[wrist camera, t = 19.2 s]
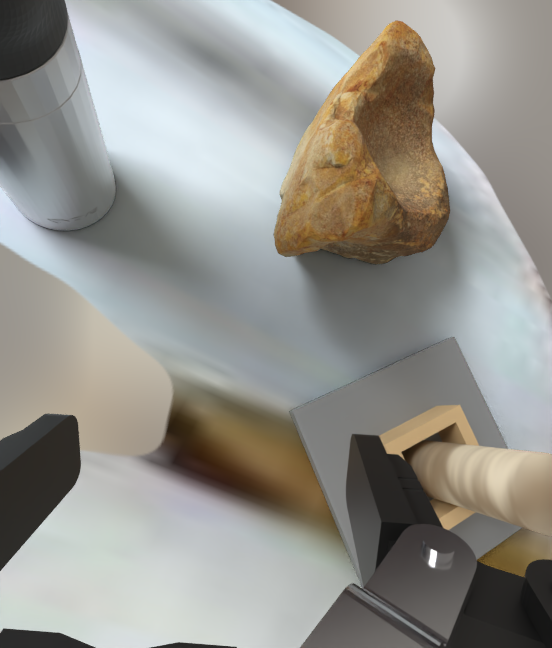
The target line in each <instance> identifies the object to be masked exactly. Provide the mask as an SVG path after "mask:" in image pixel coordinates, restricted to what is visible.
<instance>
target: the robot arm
mask: <svg viewBox="0 0 552 648" xmlns="http://www.w3.org/2000/svg"><path fill="white" fill-rule="evenodd" d="M0 187H1V188H2V190H3V191H4V192H5V193H6V195H7V196H8V197H9V198H10V200H11V201H12V202H13V203H14V205H15V206H16V207H17V208H18V210H19V211H20V212H21V213H22V214H23V215H24V216H25V217H26V218H28V219H29V220H31V221H32V222H34V223H35V224H38V225H40V226H43V227H45V228H49V229H54V230H65V231H70V230H76V229H81V228H84V227H87V226H90V225H92V224H93V223H95V222H97V221H98V220H100V219H101V218H102V217H103V216H104V215H105V214H106V213H107V212H108V210H109V209H110V208H111V206H112V204H113V201H114V199H115V194H116V184H115V178H114V174H113V171H112V167H111V164H110V160H109V157H108V153H107V149H106V145H105V142H104V138H103V135H102V131H101V128H100V124H99V121H98V117H97V114H96V110H95V107H94V103H93V100H92V96H91V93H90V89H89V85H88V82H87V78H86V75H85V71H84V68H83V64H82V61H81V57H80V54H79V50H78V48H77V44H76V41H75V37H74V33H73V30H72V26H71V23H70V19H69V16H68V12H67V8H66V4H65V1H64V0H0ZM80 467H81V460H80V446H79V432H78V422H77V419H76V417H75V416H73V415H61V414H60V415H59V414H44V415H43V416H41V417H40V418H39V419H37V420H36V421H35V422H33V423H32V424H30V425H29V426H28V427H26V428H25V429H24V430H21V431H19V432H17V433H14V434H12V435H10V436H7V437H5V438H3V439H2V440H1V441H0V571H1V570H2V568H3V567H4V566H5V565H6V564H7V563H8V561H9V560H10V559H11V558H12V557H13V556H14V555H15V553H16V552H17V551H18V550H19V549H20V548H21V546H22V545H23V544H24V543H25V542H26V541H27V540H28V538H29V537H30V536H31V535H32V534H33V533H34V531H35V530H36V529H37V528H38V527H39V526H40V525H41V523H42V522H43V521H44V520H45V519H46V518H47V516H48V515H49V514H50V513H51V512H52V511H53V510H54V508H55V507H56V506H57V505H58V504H59V503H60V502H61V500H62V499H63V498H64V497H65V496H66V495H67V493H68V492H69V491H70V490H71V489H72V488H73V486H74V485H75V483H76V481H77V479H78V476H79V473H80ZM346 503H347V509H348V514H349V519H350V524H351V529H352V534H353V538H354V543H355V548H356V553H357V558H358V563H359V568H360V573H361V578H362V583H363V587H364V588H363V589H362V588H360V587H359V586H357V585H356V584H350V585H348V586H347V587H346V588H345V589H344V591H343V592H342V593H341V594H340V596H339V597H338V598H337V600H336V601H335V602H334V604H333V605H332V606H331V608H330V609H329V610H328V612H327V613H326V614H325V616H324V617H323V618H322V619H321V621H320V622H319V623H318V625H317V626H316V627H315V629H314V630H313V631H312V633H311V634H310V635H309V637H308V638H307V639H306V641H305V642H304V643H303V644H302V646H301V647H300V648H552V560H536V561H533V562H532V563H530V564H529V565H528V567H527V570H526V574H525V578H524V577H521V576H518V575H515V574H511V573H508V572H505V571H502V570H499V569H495V568H492V567H490V566H487V565H484V564H482V563H480V562H478V561H477V560H476V556H475V554H474V552H473V550H472V549H471V548H470V546H469V545H468V544H467V543H466V542H465V541H464V540H463V539H461V538H460V537H459V536H457V535H456V534H454V533H452V532H451V531H449V530H447V529H444V528H443V526H442V524H441V522H440V520H439V518H438V516H437V514H436V513H435V511H434V509H433V507H432V505H431V503H430V501H429V499H428V497H427V495H426V493H425V492H424V491H423V487H422V486H421V484H420V482H419V481H418V478H417V476H416V474H415V472H414V470H413V468H412V466H411V465H410V464H409V463H407V462H406V461H405V460H404V459H403V458H402V457H400V456H399V455H398V454H387V453H386V450H385V448H384V446H383V443H382V441H381V439H380V437H379V436H378V435H365V434H352V436H351V440H350V449H349V459H348V469H347V479H346ZM0 648H95V647H93V646H90V645H88V644H85V643H83V642H81V641H78V640H76V639H73V638H71V637H69V636H66V635H64V634H61V633H53V632H41V631H28V630H15V629H3V630H2V632H1V633H0ZM151 648H237V647H230V646H218V645H205V644H192V643H180V642H178V643H173V644H167V645H162V646H156V647H151Z"/></svg>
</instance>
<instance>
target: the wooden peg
mask: <svg viewBox="0 0 552 648" xmlns="http://www.w3.org/2000/svg"><path fill="white" fill-rule="evenodd" d="M401 453H402V455H403V457H404V459H405V461H406V462H407V463H409V464H410V465H411V466H412V468H413V470H414V472H415V474H416V476H417V478H418V481H419V482H420V484H421V486H422V487H423V491H424V492H425V493H426V495H427V496H429V497H432V498H435V499H438V500H441V501H444V502H447V503H450V504H453V505H456V506H459V507H462V508H465V509H468V510H471V511H474V512H477V513H480V514H483V515H486V516H489V517H492V518H495V519H498V520H501V521H504V522H507V523H510V524H513V525H516V526H519V527H522V528H525V529H528V530H531V531H534V532H537V533H540V534H543V535H546V536H552V454H549V453H542V452H532V451H523V450H513V449H504V448H494V447H485V446H475V445H466V444H456V443H447V442H437V441H428V440H422V441H420V442H419V443H417V444H415V445H413V446H411V447H410V448H408V449H406V450H404V451H402V452H401Z"/></svg>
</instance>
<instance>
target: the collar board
mask: <svg viewBox="0 0 552 648" xmlns="http://www.w3.org/2000/svg"><path fill="white" fill-rule="evenodd" d="M289 412H290V414H291V417H292V419H293V421H294V424H295V426H296V429H297V431H298V434H299V436H300V438H301V441H302V443H303V446H304V448H305V450H306V453H307V455H308V458H309V460H310V463H311V465H312V467H313V470H314V472H315V475H316V477H317V479H318V482H319V484H320V487H321V489H322V491H323V494H324V496H325V499H326V501H327V504H328V506H329V508H330V511H331V513H332V516H333V518H334V520H335V523H336V525H337V528H338V530H339V532H340V535H341V537H342V540H343V542H344V545H345V547H346V549H347V552H348V554H349V557H350V559H351V561H352V564H353V566H354V569H355V571H356V574H357V576H358V578H359V581H360V583H361V586H362V588H364V587H363V583H362V578H361V573H360V568H359V563H358V558H357V553H356V548H355V543H354V538H353V534H352V529H351V524H350V519H349V514H348V509H347V503H346V479H347V469H348V459H349V449H350V440H351V436H352V434H365V435H378V436H379V437H380V439H381V441H382V443H383V446H384V448H385V450H386V453H387V454H398V455H399V456H400V457H402V458H403V459H404V457H403V455H402V453H401V452H402V451H404V450H406V449H408V448H410V447H411V446H413V445H415V444H417V443H419V442H420V441H422V440H428V441H437V442H447V443H456V444H466V445H475V446H485V447H494V448H504V449H508V448H507V446H506V444H505V442H504V439H503V437H502V435H501V433H500V431H499V429H498V427H497V425H496V423H495V421H494V419H493V417H492V414H491V412H490V410H489V408H488V406H487V404H486V402H485V400H484V398H483V396H482V394H481V392H480V389H479V387H478V385H477V383H476V381H475V379H474V377H473V375H472V373H471V371H470V369H469V366H468V364H467V362H466V360H465V358H464V356H463V354H462V352H461V350H460V348H459V346H458V344H457V341H456V339H455V337H452V338H448V339H446V340H443V341H441V342H439V343H437V344H435V345H432V346H430V347H428V348H426V349H424V350H422V351H419V352H417V353H415V354H413V355H411V356H408V357H406V358H404V359H402V360H400V361H398V362H395V363H393V364H391V365H389V366H387V367H384V368H382V369H380V370H378V371H376V372H374V373H371V374H369V375H367V376H365V377H363V378H360V379H358V380H356V381H354V382H352V383H350V384H347V385H345V386H343V387H341V388H339V389H336V390H334V391H332V392H330V393H328V394H326V395H323V396H321V397H319V398H317V399H315V400H312V401H310V402H308V403H306V404H304V405H302V406H299V407H297V408H295V409H293V410H291V411H289ZM404 460H405V459H404ZM427 497H428V499H429V501H430V503H431V505H432V507H433V509H434V511H435V513H436V514H437V516H438V518H439V520H440V522H441V524H442V526H443V528H444V529H447V530H449V531H451V532H452V533H454V534H456V535H457V536H459V537H460V538H461V539H463V540H464V541H465V542H466V543H467V544H468V545H469V546H470V548H471V549H472V550H473V552H474V554H475V556H476V560H477V559H478V558H480V557H481V556H483V555H484V554H485V553H487V552H488V551H490V550H491V549H493V548H494V547H495V546H497V545H498V544H500V543H501V542H503V541H504V540H505V539H507V538H508V537H510V536H511V535H513V534H514V533H515V532H517V531H518V530H520V529H521V528H522V527H519V526H516V525H513V524H510V523H507V522H504V521H501V520H498V519H495V518H492V517H489V516H486V515H483V514H480V513H477V512H474V511H471V510H468V509H465V508H462V507H459V506H456V505H453V504H450V503H447V502H444V501H441V500H438V499H435V498H432V497H429V496H427Z"/></svg>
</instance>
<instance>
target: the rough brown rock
mask: <svg viewBox="0 0 552 648" xmlns="http://www.w3.org/2000/svg"><path fill="white" fill-rule="evenodd" d="M434 71H435V67H434V65H433V61H432V58H431V56H430V54H429V52H428V50H427V48H426V46H425V45H424V43H423V41H422V39H421V37H420V36H419V35H418V34H417V33H416V32H415V31H414V30H412V29H411V28H410V27H409V26H407V25H406V24H405V23H403V22H401V21H395V22H392V23H390V24H389V25H388V26H386V28H385V29H384V30H383V32H382V33H381V34H380V35H379V37H378V38H377V39H376V40H375V41H374V42H373V43H372V45H371V46H370V47H369V48H368V49H367V50H366V51H365V52H364V53H363V54H362V55H361V56H360V57H359V58H358V60H357V61H356V62H355V64H354V65H353V66H352V67H351V68H350V70H349V71H348V72H347V73H346V74H345V75H344V76H343V77H342V79H341V80H340V81H339V82H338V83H337V84H336V86H335V87H334V88H333V89H332V91H331V92H330V94H329V96H328V97H327V99H326V101H325V102H324V104H323V106H322V107H321V108H320V110H319V112H318V113H317V115H316V117H315V118H314V120H313V122H312V123H311V124H310V126H309V127H308V128H307V130H306V131H305V133H304V135H303V137H302V139H301V141H300V143H299V145H298V147H297V149H296V151H295V154H294V156H293V160H292V163H291V166H290V168H289V171H288V173H287V175H286V177H285V179H284V181H283V183H282V186H281V190H280V196H281V199H282V203H281V207H280V210H279V213H278V215H277V222H276V226H275V230H274V238H275V246H276V249H277V252H278V253H279V254H281V255H283V256H285V257H290V256H297V255H301V254H303V253H307V252H315V251H318V250H319V249H323V250H327V251H330V252H332V253H335V254H339V255H341V256H343V257H346V258H356V259H358V260H361V261H364V262H368V263H372V264H383V263H387V262H389V261H391V260H392V259H394V258H396V257H399V256H408V255H411V254H415V253H418V252H423V251H426V250H428V249H430V248H431V247H432V246H433V245H434V244H435V242H436V241H437V239H438V238H439V236H440V234H441V232H442V230H443V229H444V227H445V225H446V223H447V220H448V218H449V213H450V206H449V196H448V188H447V184H446V179H445V174H444V170H443V167H442V165H441V163H440V162H439V160H438V158H437V155H436V153H435V151H434V147H433V143H432V123H433V118H434V106H433V95H434V90H433V76H434Z"/></svg>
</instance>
